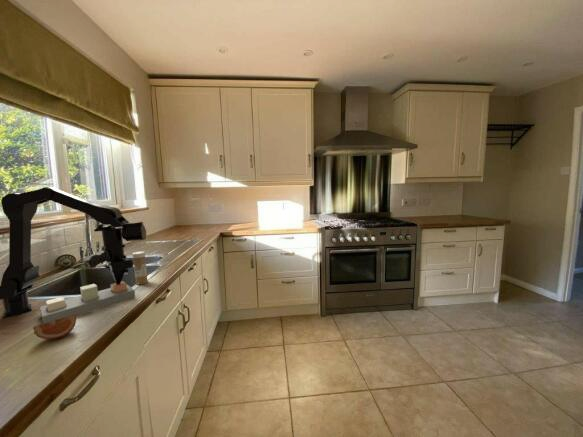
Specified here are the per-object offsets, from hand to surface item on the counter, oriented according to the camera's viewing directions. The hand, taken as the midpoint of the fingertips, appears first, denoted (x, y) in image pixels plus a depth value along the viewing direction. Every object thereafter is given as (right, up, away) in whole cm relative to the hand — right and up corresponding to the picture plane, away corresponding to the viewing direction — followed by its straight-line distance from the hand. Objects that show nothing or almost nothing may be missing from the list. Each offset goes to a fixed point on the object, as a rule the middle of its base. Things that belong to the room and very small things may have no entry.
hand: (118, 284), depth 91 cm
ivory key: (-11, -7, -12) cm, 18 cm away
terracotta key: (0, -5, +1) cm, 5 cm away
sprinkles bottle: (0, -4, +15) cm, 16 cm away
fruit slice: (0, -8, -24) cm, 25 cm away
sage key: (-5, -4, -6) cm, 9 cm away
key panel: (-5, -6, -6) cm, 10 cm away
